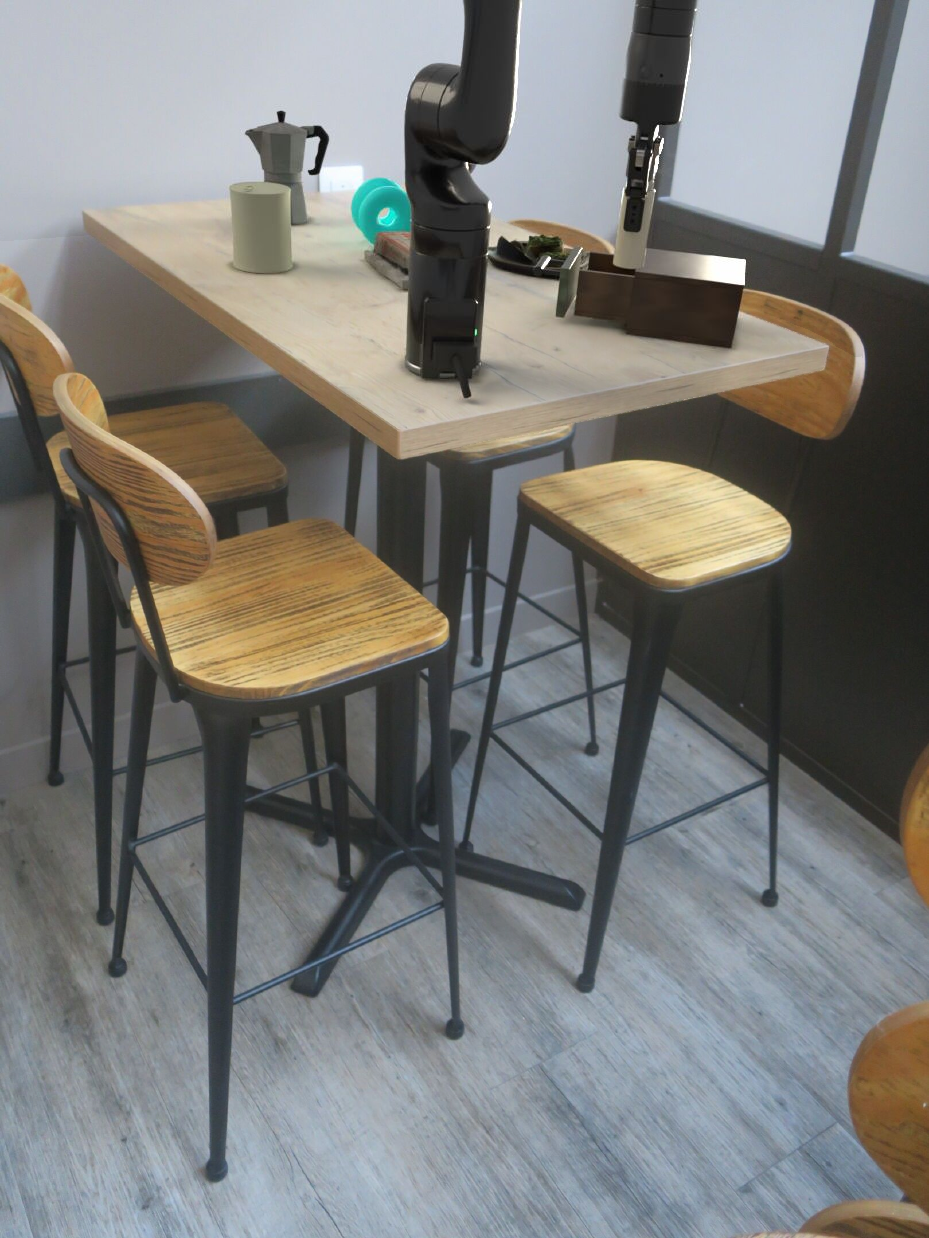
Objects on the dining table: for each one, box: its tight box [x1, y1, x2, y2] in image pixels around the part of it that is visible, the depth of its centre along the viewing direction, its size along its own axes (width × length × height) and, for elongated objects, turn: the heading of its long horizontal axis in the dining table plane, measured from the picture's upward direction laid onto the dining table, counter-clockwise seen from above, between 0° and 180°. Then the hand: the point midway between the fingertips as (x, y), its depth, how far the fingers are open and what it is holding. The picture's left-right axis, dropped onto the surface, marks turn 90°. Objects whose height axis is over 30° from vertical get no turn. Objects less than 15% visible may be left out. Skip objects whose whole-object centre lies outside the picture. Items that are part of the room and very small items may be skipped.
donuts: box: [350, 177, 411, 246], centre depth 178 cm, size 10×10×10 cm
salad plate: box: [488, 233, 590, 279], centre depth 175 cm, size 19×18×5 cm
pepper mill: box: [613, 179, 656, 269], centre depth 133 cm, size 4×4×12 cm
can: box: [228, 181, 294, 274], centre depth 160 cm, size 9×9×12 cm
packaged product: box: [363, 231, 410, 290], centre depth 164 cm, size 18×5×10 cm
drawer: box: [533, 246, 636, 324], centre depth 151 cm, size 18×13×7 cm
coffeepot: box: [244, 110, 330, 226], centre depth 187 cm, size 15×9×18 cm, turn 118°
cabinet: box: [625, 247, 746, 349], centre depth 149 cm, size 15×15×9 cm
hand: (633, 227), depth 133 cm, fingers closed on pepper mill, 4 cm apart
